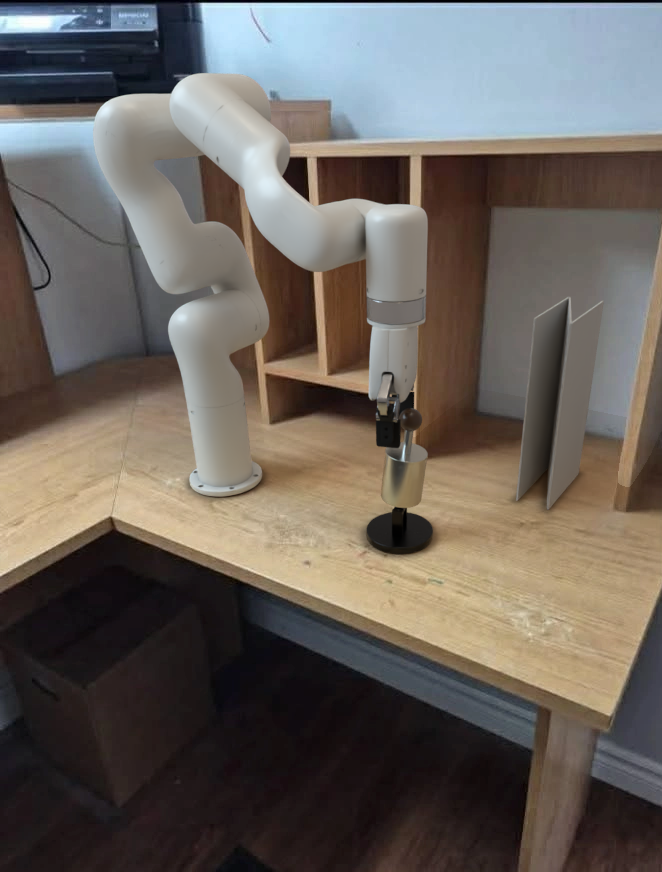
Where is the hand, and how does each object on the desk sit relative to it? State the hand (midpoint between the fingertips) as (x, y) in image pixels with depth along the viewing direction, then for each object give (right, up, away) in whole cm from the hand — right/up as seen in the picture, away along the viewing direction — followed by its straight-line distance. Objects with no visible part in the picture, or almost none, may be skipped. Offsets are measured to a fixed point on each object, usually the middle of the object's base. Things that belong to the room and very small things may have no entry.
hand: (395, 431), depth 96 cm
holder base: (+1, -15, +8) cm, 17 cm away
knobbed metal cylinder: (+4, -5, +1) cm, 7 cm away
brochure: (+27, -8, +20) cm, 34 cm away
